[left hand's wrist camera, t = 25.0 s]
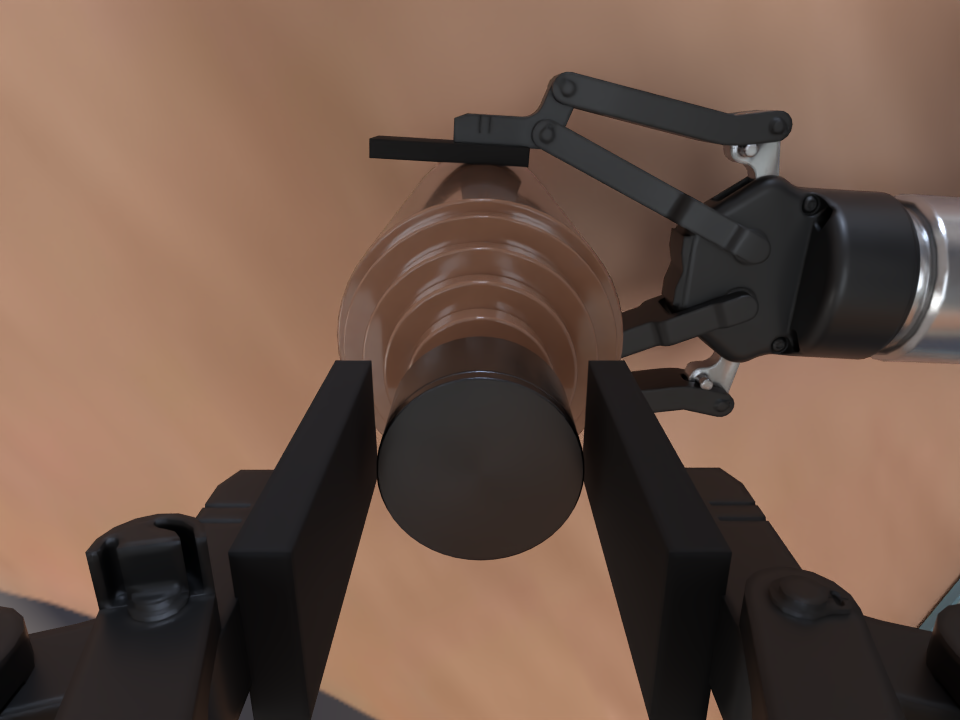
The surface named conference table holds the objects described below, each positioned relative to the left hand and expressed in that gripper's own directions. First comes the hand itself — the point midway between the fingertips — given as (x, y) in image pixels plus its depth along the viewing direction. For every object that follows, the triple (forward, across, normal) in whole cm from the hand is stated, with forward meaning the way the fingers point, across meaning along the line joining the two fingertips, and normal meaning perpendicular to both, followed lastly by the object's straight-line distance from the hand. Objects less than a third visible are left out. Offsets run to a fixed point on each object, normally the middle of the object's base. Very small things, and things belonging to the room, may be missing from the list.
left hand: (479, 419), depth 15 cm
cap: (-2, 0, 0) cm, 2 cm away
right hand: (+17, -5, 0) cm, 18 cm away
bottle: (+24, 0, 0) cm, 24 cm away
